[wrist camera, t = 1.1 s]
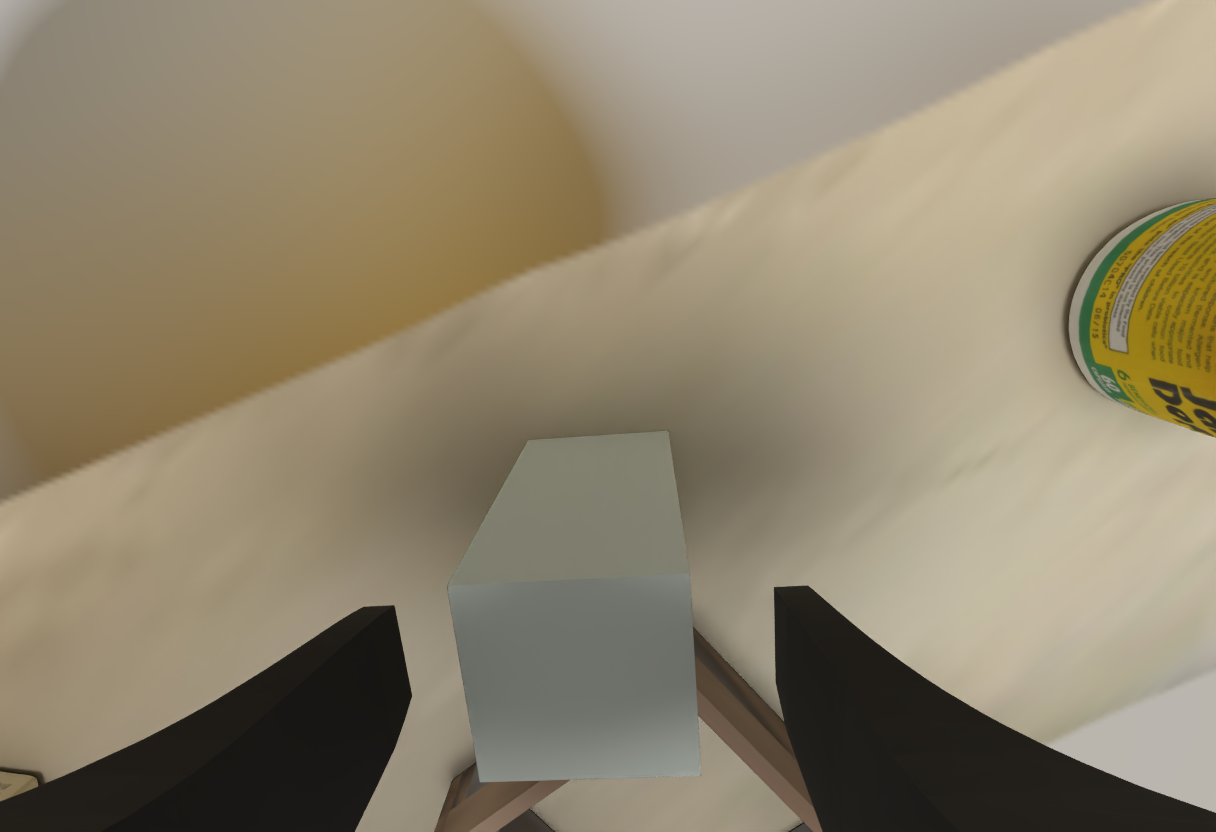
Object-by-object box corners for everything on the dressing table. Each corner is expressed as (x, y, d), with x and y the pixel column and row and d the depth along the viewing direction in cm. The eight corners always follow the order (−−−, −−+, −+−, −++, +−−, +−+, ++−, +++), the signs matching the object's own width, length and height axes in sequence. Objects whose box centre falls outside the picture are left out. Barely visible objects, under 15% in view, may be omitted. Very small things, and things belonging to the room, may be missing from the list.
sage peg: (543, 565, 19) (479, 782, 12) (528, 440, 18) (447, 586, 10) (676, 558, 19) (701, 775, 11) (667, 430, 18) (689, 573, 10)
